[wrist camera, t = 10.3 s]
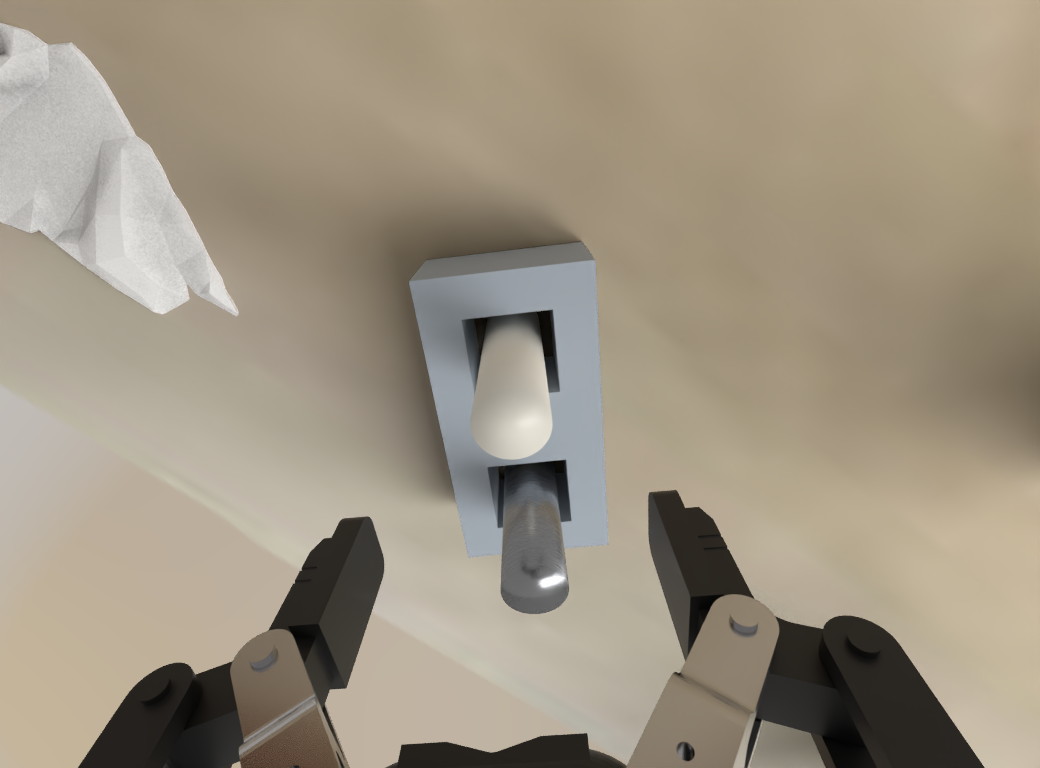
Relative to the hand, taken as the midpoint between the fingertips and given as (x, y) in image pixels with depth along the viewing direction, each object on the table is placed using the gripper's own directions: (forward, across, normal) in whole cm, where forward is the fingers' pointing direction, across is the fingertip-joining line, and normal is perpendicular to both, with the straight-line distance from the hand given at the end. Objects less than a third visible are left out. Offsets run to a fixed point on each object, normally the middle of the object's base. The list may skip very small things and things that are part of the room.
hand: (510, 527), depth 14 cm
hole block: (+18, 0, +4) cm, 18 cm away
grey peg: (+18, 0, +9) cm, 20 cm away
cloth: (+18, +25, -12) cm, 33 cm away
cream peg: (+18, 0, 0) cm, 18 cm away
